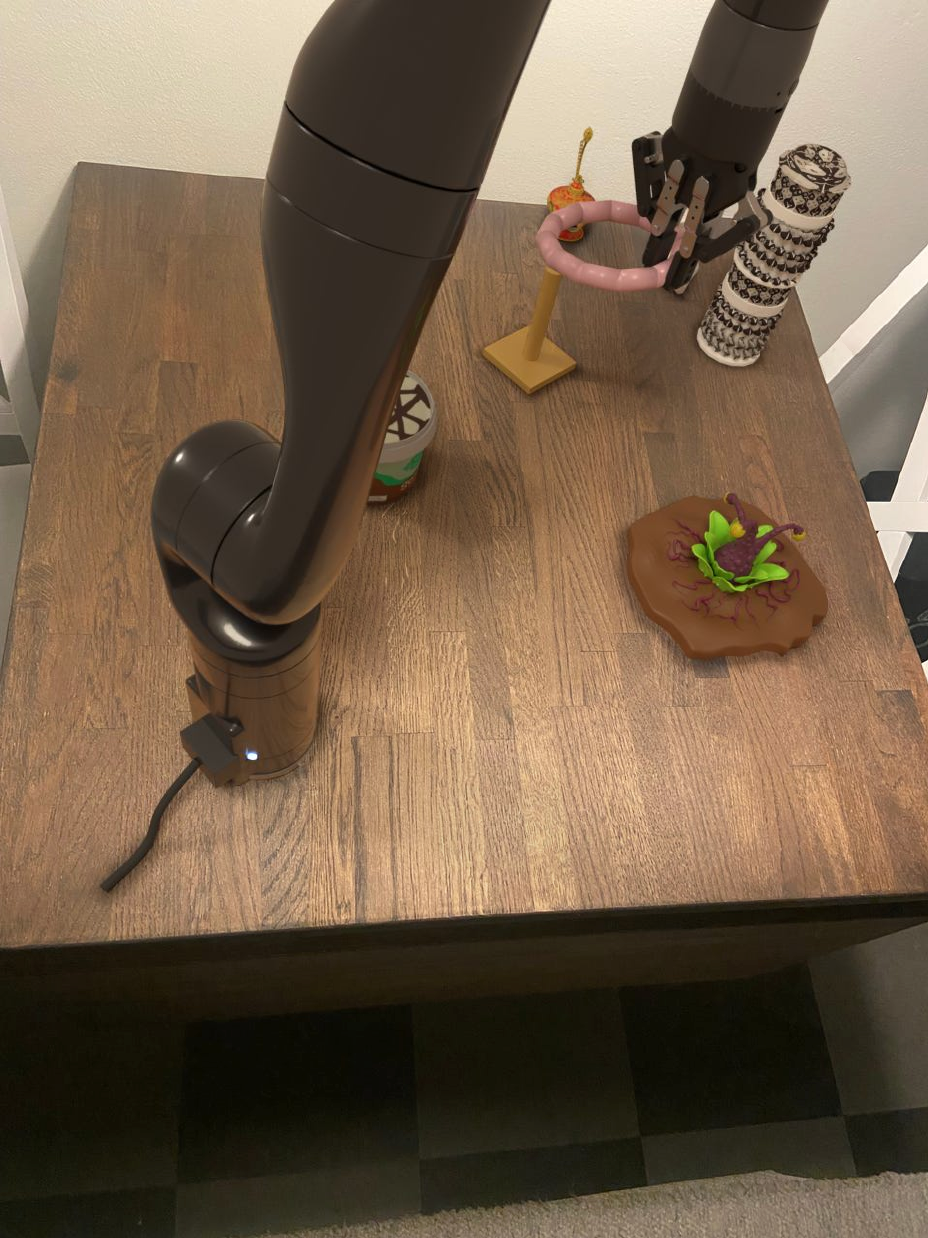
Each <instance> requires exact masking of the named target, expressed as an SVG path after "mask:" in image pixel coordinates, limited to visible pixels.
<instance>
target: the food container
mask: <svg viewBox="0 0 928 1238" xmlns="http://www.w3.org/2000/svg"><path fill="white" fill-rule="evenodd" d="M437 422H438V421H437V409H436V404H435V400H434V398H433V395H432V393H431V391H430V389H429V388H428V386H427V385H426V383H425V382H424V381H423V380H422V378H420V377H419V376H418V375H417V374H415V373H414V372H412V371H410V370H409V369H408V371H407V374H406V376H405V379H404V382H403V384H402V387H401V390H400V393H399V396H398V399H397V402H396V405H395V408H394V411H393V414H392V417H391V421H390V424H389V428H388V431H387V434H386V438H385V441H384V445H383V448H382V452H381V455H380V459H379V463H378V466H377V470H376V474H375V477H374V481H373V485H372V488H371V492H370V496H369V500H368V503H367V506H386V505H388V504H391V503H396V502H397V501H399V500H401V499H403V498H404V497H406V496H407V495H408V494H409V492H410V491H411V490H412V489H413V486H414V485H415V482H416V478H417V475H418V471H419V467H420V465H421V461H422V457H423V453H424V451H425V448H426V447H428V445H429V444H430V443H431V442H432V441H433V438H434V436H435V434H436V432H437V431H436V430H437V425H438V423H437Z"/></svg>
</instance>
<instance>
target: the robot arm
mask: <svg viewBox="0 0 928 1238" xmlns="http://www.w3.org/2000/svg"><path fill="white" fill-rule="evenodd" d="M552 2H553V0H333V1H332V3H331V4H330V5H329V6H328V8H327V9H326V10H325V11H324V13H323V14H322V16H321V17H320V18H319V20H318V21H317V22H316V24H315V26H314V27H313V28H312V30H311V31H310V33H309V34H308V35H307V37H306V39H305V40H304V43H303V44H302V46H301V48H300V50H299V52H298V54H297V57H296V59H295V61H294V64H293V68H292V71H291V73H290V76H289V80H288V83H287V87H286V91H285V94H284V100H283V103H282V107H281V111H280V114H279V119H278V124H277V128H276V132H275V135H274V138H273V139H274V140H273V143H272V148H271V152H270V156H269V160H268V165H267V168H266V169H267V170H266V172H265V178H264V181H263V187H262V193H261V197H260V208H259V232H260V233H259V234H260V246H261V257H262V266H263V274H264V280H265V287H266V293H267V299H268V305H269V310H270V315H271V322H272V326H273V330H274V336H275V340H276V346H277V351H278V357H279V361H280V369H281V376H282V384H283V398H284V414H283V415H284V418H283V429H282V437H281V441H280V440H279V439H278V438H276V437H275V436H274V435H273V434H271V433H270V432H269V431H268V430H267V429H265V428H263V427H262V426H260V425H259V424H257V423H254V422H251V421H248V420H246V419H239V418H227V419H220V420H215V421H212V422H209V423H207V424H204V425H202V426H200V427H199V428H197V429H195V430H194V431H192V432H191V433H189V434H188V435H187V436H186V437H185V438H183V440H181V441H180V442H178V444H177V445H176V446H175V447H174V448H173V450H172V451H171V453H169V455H168V456H167V458H166V460H165V461H164V463H163V464H162V467H161V469H160V470H159V473H158V475H157V478H156V480H155V484H154V487H153V491H152V496H151V500H150V510H149V511H150V514H149V515H150V528H151V529H150V531H151V536H152V541H153V544H154V545H153V546H154V550H155V552H156V556H157V561H158V564H159V567H160V571H161V575H162V578H163V583H164V586H165V589H166V593H167V597H168V599H169V601H170V604H171V606H172V608H173V610H174V612H175V613H176V615H177V616H178V618H179V619H180V620H181V622H182V623H183V625H184V626H185V628H186V629H187V634H188V639H189V640H188V641H189V646H190V653H191V658H192V664H193V670H194V673H193V674H192V675H190V676H188V677H187V678H186V679H185V687H186V692H187V698H188V704H189V708H190V713H191V718H192V723H191V724H188V726H186V727H185V728H183V729H182V730H180V731H179V736H180V741H181V746H182V749H183V750H184V751H185V752H186V753H187V755H188V756H189V757H190V759H191V760H190V762H189V763H188V764H187V766H186V767H185V768H184V770H182V771H181V773H180V774H179V775H178V777H176V778H175V780H174V781H173V782H172V783H171V785H170V786H169V787H168V789H167V790H166V792H164V794H163V795H162V796H161V799H160V800H159V801H158V802H157V805H156V806H155V809H154V810H153V813H152V815H151V818H150V820H149V821H150V822H149V824H148V825H149V826H148V829H147V831H146V834H145V837H144V839H143V841H142V842H141V844H140V845H139V846H138V847H137V849H136V850H135V851H134V852H133V854H131V856H129V858H127V860H125V862H124V863H122V865H120V866H119V867H118V868H117V869H116V870H115V871H113V873H111V874H110V875H109V876H108V877H107V878H105V880H104V881H103V882H102V883H101V884H100V885H99V887H100V889H102V890H103V891H104V892H105V893H108V892H109V891H110V890H111V889H112V888H113V887H114V886H115V885H116V884H117V883H118V882H119V881H120V880H121V879H123V878H124V877H125V876H126V875H127V874H128V873H129V872H131V871H132V870H133V869H134V868H135V867H136V866H137V865H138V864H139V863H140V861H141V860H142V859H143V858H144V857H145V856H146V854H147V853H148V852H149V850H150V849H151V848H152V846H153V844H154V842H155V840H156V838H157V836H158V831H159V828H160V824H161V821H162V818H163V816H164V814H165V812H166V811H167V809H168V807H169V806H170V804H171V803H172V801H173V800H174V799H175V797H176V796H177V794H179V792H180V791H181V790H182V789H183V787H184V786H185V784H186V783H187V782H188V781H189V780H190V779H191V777H193V775H194V774H195V772H196V771H197V770H198V769H199V770H200V771H201V773H203V775H204V777H205V778H207V780H208V781H209V782H210V784H211V785H212V786H213V787H214V788H215V789H216V790H217V789H219V788H220V787H221V786H222V785H225V784H226V783H227V782H229V781H230V780H231V781H232V782H233V784H234V785H236V786H241V785H243V784H244V783H245V782H247V781H250V780H253V781H263V780H271V779H276V778H278V777H279V778H280V777H282V776H284V775H286V774H288V773H290V772H292V771H293V770H295V769H296V768H298V767H299V763H301V761H302V760H303V759H305V758H306V756H307V755H308V754H309V752H310V751H311V749H312V747H313V745H314V743H315V741H316V738H317V734H318V725H319V723H318V722H319V721H318V703H319V702H318V701H319V686H320V685H319V683H320V670H321V669H320V667H321V652H322V651H321V649H322V634H323V617H324V616H323V614H324V603H323V599H324V598H325V597H326V596H327V594H328V593H329V592H330V591H331V590H332V588H333V586H334V585H335V584H336V582H337V580H338V578H339V577H340V575H341V574H342V572H343V570H344V568H345V566H346V565H347V562H348V560H349V558H350V556H351V553H352V551H353V549H354V546H355V544H356V541H357V538H358V535H359V532H360V529H361V526H362V524H363V520H364V516H365V513H366V510H367V506H368V505H367V503H368V500H369V496H370V492H371V488H372V485H373V481H374V477H375V474H376V470H377V466H378V463H379V459H380V455H381V452H382V448H383V445H384V441H385V438H386V434H387V431H388V428H389V424H390V421H391V417H392V414H393V411H394V408H395V405H396V402H397V399H398V396H399V393H400V390H401V387H402V384H403V382H404V379H405V376H406V374H407V371H408V370H409V368H410V365H411V363H412V359H413V357H414V354H415V352H416V349H417V346H418V344H419V341H420V338H421V335H422V334H423V331H424V328H425V326H426V323H427V321H428V318H429V316H430V313H431V310H432V308H433V306H434V303H435V301H436V299H437V296H438V294H439V291H440V289H441V287H442V285H443V282H444V280H445V277H446V275H447V272H448V271H449V268H450V266H451V265H452V262H453V259H454V257H455V255H456V252H457V249H458V247H459V245H460V243H461V239H462V237H463V234H464V232H465V229H466V227H467V224H468V222H469V219H470V217H471V214H472V211H473V209H474V206H475V204H476V201H477V200H478V199H477V198H478V196H479V194H480V192H481V188H482V185H483V183H484V181H485V178H486V175H487V172H488V169H489V166H490V164H491V160H492V158H493V155H494V152H495V149H496V146H497V143H498V140H499V138H500V135H501V132H502V129H503V126H504V123H505V121H506V118H507V116H508V113H509V110H510V107H511V105H512V103H513V99H514V97H515V94H516V91H517V89H518V86H519V84H520V82H521V79H522V76H523V73H524V70H525V69H526V66H527V63H528V62H529V58H530V56H531V54H532V51H533V49H534V47H535V43H536V41H537V39H538V37H539V33H540V32H541V29H542V27H543V24H544V21H545V18H546V17H547V14H548V11H549V10H550V7H551V4H552ZM829 2H830V0H714V2H713V4H712V6H711V8H710V10H709V12H708V14H707V17H706V19H705V21H704V23H703V26H702V29H701V31H700V35H699V38H698V40H697V43H696V46H695V48H694V52H693V55H692V57H691V61H690V64H689V67H688V68H687V69H688V70H687V73H686V76H685V79H684V80H683V81H684V82H683V84H682V87H681V91H680V93H679V96H678V98H677V102H676V104H675V107H674V110H673V113H672V116H671V125H670V126H669V127H668V128H667V129H666V130H665V132H663V134H661V132H660V131H659V130H653V131H652V132H649V133H647V134H644V135H642V136H639V137H637V138H635V139H633V140H632V142H631V157H632V167H633V168H632V169H633V178H634V190H635V200H636V205H637V211H638V214H639V215H640V216H641V217H646V218H647V219H648V221H649V222H650V224H651V226H650V229H651V233H649V237H648V240H647V243H646V246H645V248H644V251H643V254H642V256H641V264H642V265H643V268H646V267H653V266H655V265H657V264H659V263H661V262H662V261H664V260H666V259H668V256H669V254H670V251H671V248H672V246H673V243H674V241H675V238H676V236H677V232H676V231H675V230H674V229H675V228H676V227H678V226H679V224H680V222H681V220H682V218H683V215H684V213H685V211H686V209H687V208H688V209H689V210H688V213H687V216H686V219H685V222H684V228H685V232H684V235H683V238H682V241H681V244H680V248H679V250H678V251H676V252H675V254H674V257H673V260H672V262H671V265H670V267H669V270H668V272H667V275H666V277H665V283H664V284H663V286H661V287H662V289H664V290H665V291H666V292H668V293H671V292H674V290H675V289H676V290H677V289H678V288H680V287H682V286H684V285H686V284H687V283H688V282H689V281H690V280H691V281H692V279H693V278H692V275H693V273H694V270H695V268H696V266H697V263H698V261H699V262H700V263H702V264H704V265H705V264H706V265H707V264H708V263H710V262H712V261H713V260H715V259H717V258H718V257H721V256H723V255H725V254H727V253H728V252H730V251H732V250H733V249H734V248H737V245H739V244H740V243H742V242H743V241H745V240H746V239H748V238H749V237H751V236H752V235H754V234H756V233H757V232H759V231H760V230H762V229H763V228H765V227H766V226H768V225H769V224H770V223H771V222H772V220H773V214H772V212H771V211H770V210H769V209H763V210H762V209H761V207H760V205H759V203H758V201H757V199H756V197H757V196H756V195H755V193H754V192H755V190H756V188H757V184H758V169H759V166H760V164H761V162H762V160H763V159H764V157H765V155H766V153H767V152H768V149H769V147H770V146H771V145H770V144H771V143H772V140H773V138H774V136H775V133H776V131H777V129H778V127H779V124H780V122H781V120H782V118H783V116H784V113H785V111H786V109H787V106H788V105H789V102H790V99H791V97H792V95H793V94H794V92H795V91H796V90H797V88H798V85H799V83H800V79H801V75H802V73H803V70H804V68H805V65H806V64H807V61H808V58H809V55H810V54H811V50H812V46H813V43H814V40H815V37H816V33H817V30H818V28H819V25H820V24H821V23H820V22H821V20H822V17H823V15H824V13H825V11H826V8H827V7H828V4H829ZM735 204H738V208H737V211H736V212H735V213H734V215H733V216H732V220H731V222H730V224H731V225H732V227H731V228H730V229H728V230H726V231H725V232H723V233H722V234H721V235H719V236H717V237H715V238H712V237H713V235H714V232H715V229H716V227H717V225H719V223H720V222H721V220H722V219H723V215H724V213H725V210H726V209H728V208H730V207H732V206H734V205H735ZM691 278H692V279H691ZM691 281H690V282H691ZM690 282H689V283H690Z"/></svg>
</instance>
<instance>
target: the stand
mask: <svg viewBox="0 0 928 1238" xmlns="http://www.w3.org/2000/svg"><path fill="white" fill-rule="evenodd" d="M562 279H563V275H561V274H559V273H558V272H556V271H554V270H553V269H551V268H549V267H548V266H547V264H545V268H544V271H543V274H542V279H541V283H540V286H539V289H538V294H537V297H536V302H535V305H534V309H533V311H532V316H531V320H530V323H529V324H528V325H526V326H525V327H522V328H520V329H518V330H516V331H514V332H512V333H510V334H508V335H506V336H505V337H502V338H500V339H499V340H497V341H494V342H493V343H491V344H489V345H487V346H485V347H484V348H483V349H482V354H481V355H482V356H483V357H484V358H485V359H487V360H488V361H489V362H490V363H491V364H492V365H494V366H495V368H497V369H498V370H499V371H500V372H502V373H503V374H504V375H505V376H507V378H509V379H510V380H511V381H512V382H513V383H515V384H516V385H517V386H518V387H519V388H520V389H521V390H523V391H524V392H525V393H526V394H527V395H531V394H533V393H534V392H536V391H538V390H540V389H541V388H543V387H545V386H547V385H548V384H550V383H552V382H554V381H556V380H558V379H560V378H561V377H563V376H564V375H566V374H568V373H570V372H572V371H574V370H575V369H576V366H577V361H575V360H574V359H573V358H572V357H571V356H569V355H568V354H567V353H566V352H565V351H563V350H562V349H561V348H560V347H559V346H557V344H555V343H554V342H553V341H552V340H550V339H549V338H548V337H547V336H546V333H547V331H548V328H549V323H550V320H551V316H552V313H553V310H554V306H555V303H556V299H557V295H558V292H559V289H560V286H561V282H562Z"/></svg>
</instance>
